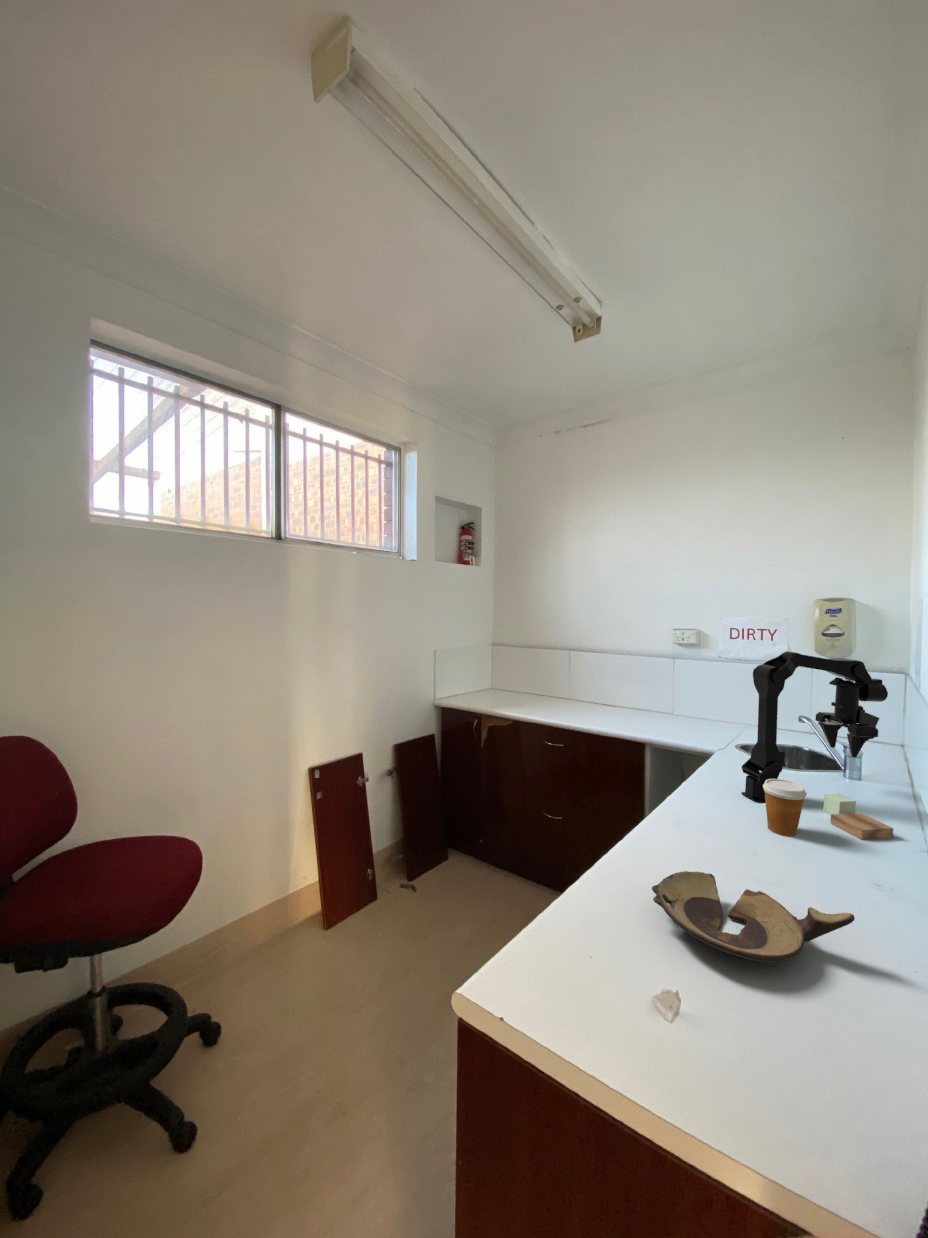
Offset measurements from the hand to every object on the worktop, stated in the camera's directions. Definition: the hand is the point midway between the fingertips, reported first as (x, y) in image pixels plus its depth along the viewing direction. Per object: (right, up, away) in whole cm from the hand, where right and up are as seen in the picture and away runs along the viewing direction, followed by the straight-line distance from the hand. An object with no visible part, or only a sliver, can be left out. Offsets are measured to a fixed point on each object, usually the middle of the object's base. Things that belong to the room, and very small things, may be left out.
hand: (843, 752), depth 153 cm
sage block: (-10, -14, -12) cm, 21 cm away
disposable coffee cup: (-32, -15, -22) cm, 42 cm away
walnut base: (-11, -15, -21) cm, 28 cm away
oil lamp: (-66, -16, -64) cm, 93 cm away
